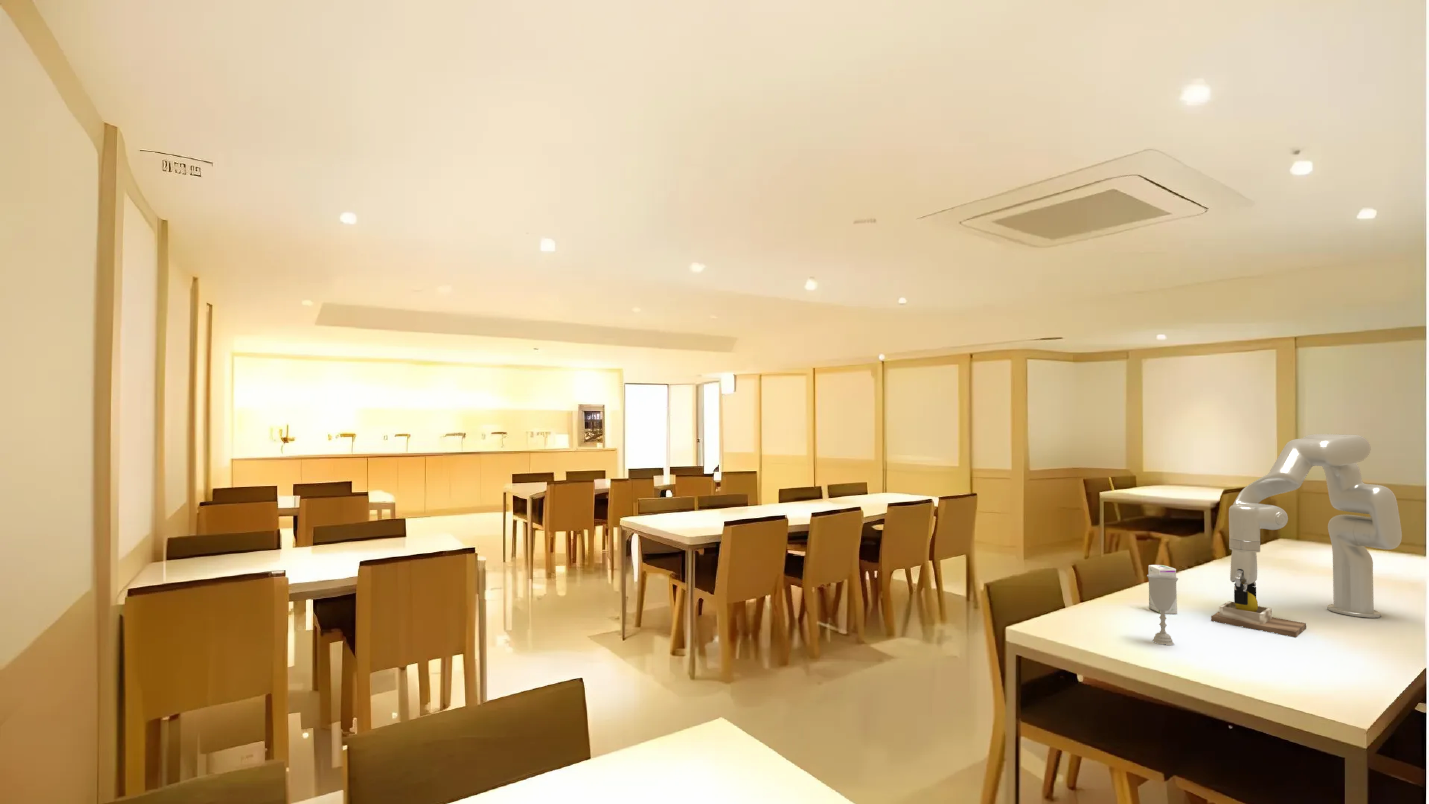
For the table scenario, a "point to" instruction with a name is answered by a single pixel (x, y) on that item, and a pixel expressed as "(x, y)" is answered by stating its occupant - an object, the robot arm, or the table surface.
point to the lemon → (1249, 604)
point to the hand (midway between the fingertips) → (1245, 601)
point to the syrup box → (1163, 571)
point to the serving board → (1257, 620)
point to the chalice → (1162, 601)
